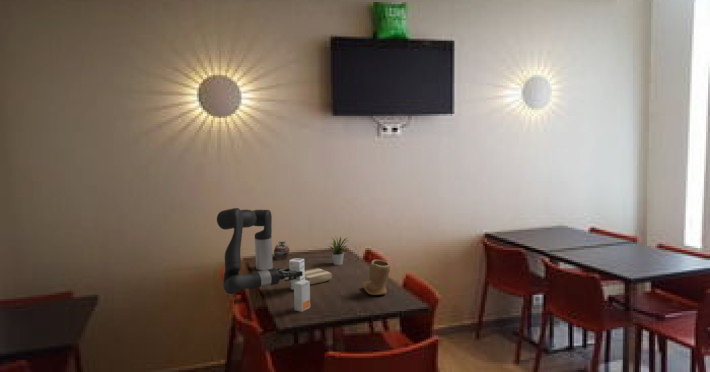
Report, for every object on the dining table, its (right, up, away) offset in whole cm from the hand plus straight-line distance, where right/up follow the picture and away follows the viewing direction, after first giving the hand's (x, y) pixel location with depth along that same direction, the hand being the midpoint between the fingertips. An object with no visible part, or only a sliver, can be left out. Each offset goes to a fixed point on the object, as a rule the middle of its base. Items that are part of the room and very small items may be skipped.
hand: (297, 271), depth 237 cm
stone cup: (+38, -9, -6) cm, 40 cm away
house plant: (+19, -3, +44) cm, 48 cm away
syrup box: (0, -9, +1) cm, 9 cm away
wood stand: (+7, -7, +13) cm, 16 cm away
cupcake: (-17, -3, +60) cm, 62 cm away
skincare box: (+5, -12, -27) cm, 30 cm away
